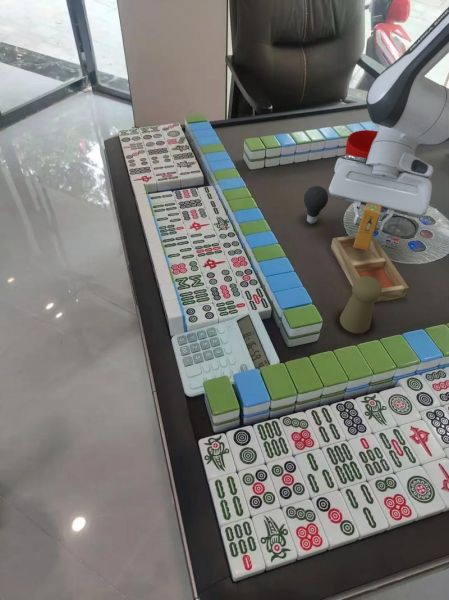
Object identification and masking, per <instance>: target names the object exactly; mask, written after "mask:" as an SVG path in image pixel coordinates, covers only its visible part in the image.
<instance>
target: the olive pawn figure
mask: <svg viewBox="0 0 449 600" xmlns="http://www.w3.org/2000/svg"><path fill="white" fill-rule="evenodd" d="M381 292H382V287H381V284H380V283H379V281H378V280H377V279H375V278H373V277H370V276H362V277H360V278H358V279H356V281H355V282H354V283H353V286H352V285H351V293H352V294H351V295H350V298H349V299H348V301H347V304H346V305H345V307H344V309H343V310H342V312H341V313H340V316H339V323H340V325H341V327H343V329H344V330H346V331H348V332H350V333H352V334H363V333H366V332H368V331H369V330H370V329H371V324H372V319H373V314H374V310H375V303H376V302H375V301H376V300H377V299H378V298H379V297H380V295H381Z"/></svg>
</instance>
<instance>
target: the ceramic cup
mask: <svg viewBox="0 0 449 600" xmlns="http://www.w3.org/2000/svg"><path fill="white" fill-rule="evenodd" d="M377 133H378V130H373V129H372V130H371V129H362V130H356V131H354V132H351V133H350V134H349V135H348V137H347V140H346V146H345V151H344V152H345V153H344V154H345V155H344V156H346V155H352V156H355V157H362V158H368V155H369V152H370V148H371V145H372V143H373V141H374V139H375V138H376V136H377Z"/></svg>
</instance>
